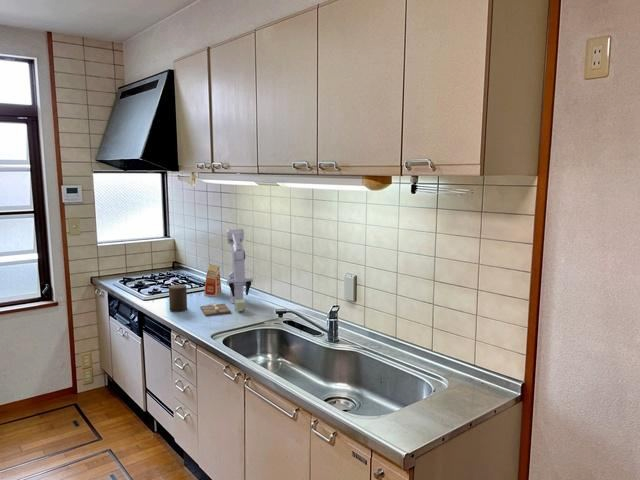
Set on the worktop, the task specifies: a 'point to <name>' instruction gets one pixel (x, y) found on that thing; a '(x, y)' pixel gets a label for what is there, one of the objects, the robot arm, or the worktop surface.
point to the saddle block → (240, 305)
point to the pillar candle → (177, 298)
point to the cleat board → (212, 312)
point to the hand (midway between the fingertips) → (240, 295)
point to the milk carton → (213, 281)
